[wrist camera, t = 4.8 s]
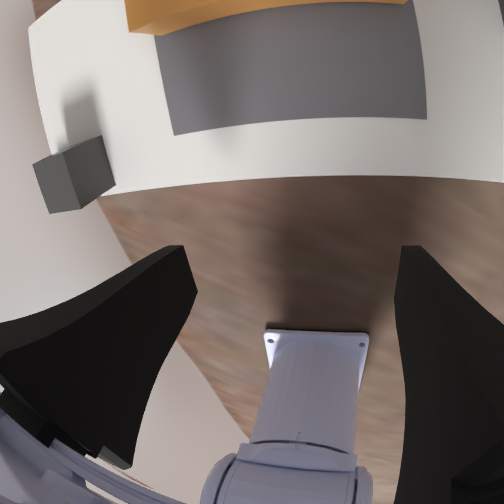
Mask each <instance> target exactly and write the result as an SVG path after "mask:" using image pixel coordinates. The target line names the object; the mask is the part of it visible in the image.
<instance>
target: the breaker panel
mask: <svg viewBox="0 0 504 504" xmlns="http://www.w3.org/2000/svg"><path fill="white" fill-rule="evenodd" d="M28 31H29V41H30V51H31V59H32V67H33V73H34V79H35V85H36V91H37V96H38V101H39V106H40V111H41V115H42V119H43V124H44V127H45V132H46V136H47V139H48V143H49V147H50V150H51V153H52V154H54V153H57V152H59V151H61V150H63V149H65V148H67V147H70V146H72V145H75V144H78V143H80V142H83V141H86V140H89V139H92V138H94V137H97V136H100V135H102V138H103V142H104V145H105V149H106V153H107V156H108V160H109V163H110V167H111V170H112V174H113V177H114V180H115V183H116V186H114V187H113V188H111V189H110V190H108V191H106V192H105V193H103V194H102V195H101V196H105V195H111V194H118V193H124V192H131V191H138V190H146V189H153V188H161V187H170V186H179V185H188V184H197V183H208V182H219V181H231V180H244V179H259V178H276V177H298V176H333V175H388V176H422V177H442V178H458V179H471V180H483V181H493V182H503V183H504V25H503V20H502V15H501V11H500V6H499V2H498V0H408V1H406V2H405V3H404V4H394V3H379V2H324V3H309V4H298V5H289V6H281V7H274V8H267V9H261V10H255V11H250V12H245V13H240V14H235V15H231V16H226V17H222V18H218V19H214V20H210V21H206V22H203V23H199V24H196V25H192V26H189V27H186V28H183V29H180V30H177V31H174V32H171V33H168V34H165V35H162V36H160V35H151V34H141V33H129V29H128V23H127V16H126V9H125V2H124V0H61V1H60V2H59V3H57V4H56V5H55V6H53V7H52V8H51V9H50V10H49V11H47V12H46V13H45V14H44V15H42V16H41V17H40V18H39V19H38V20H37V21H35V22H34V23H33V24H32V25H31V26H30V27H29V28H28Z"/></svg>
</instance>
